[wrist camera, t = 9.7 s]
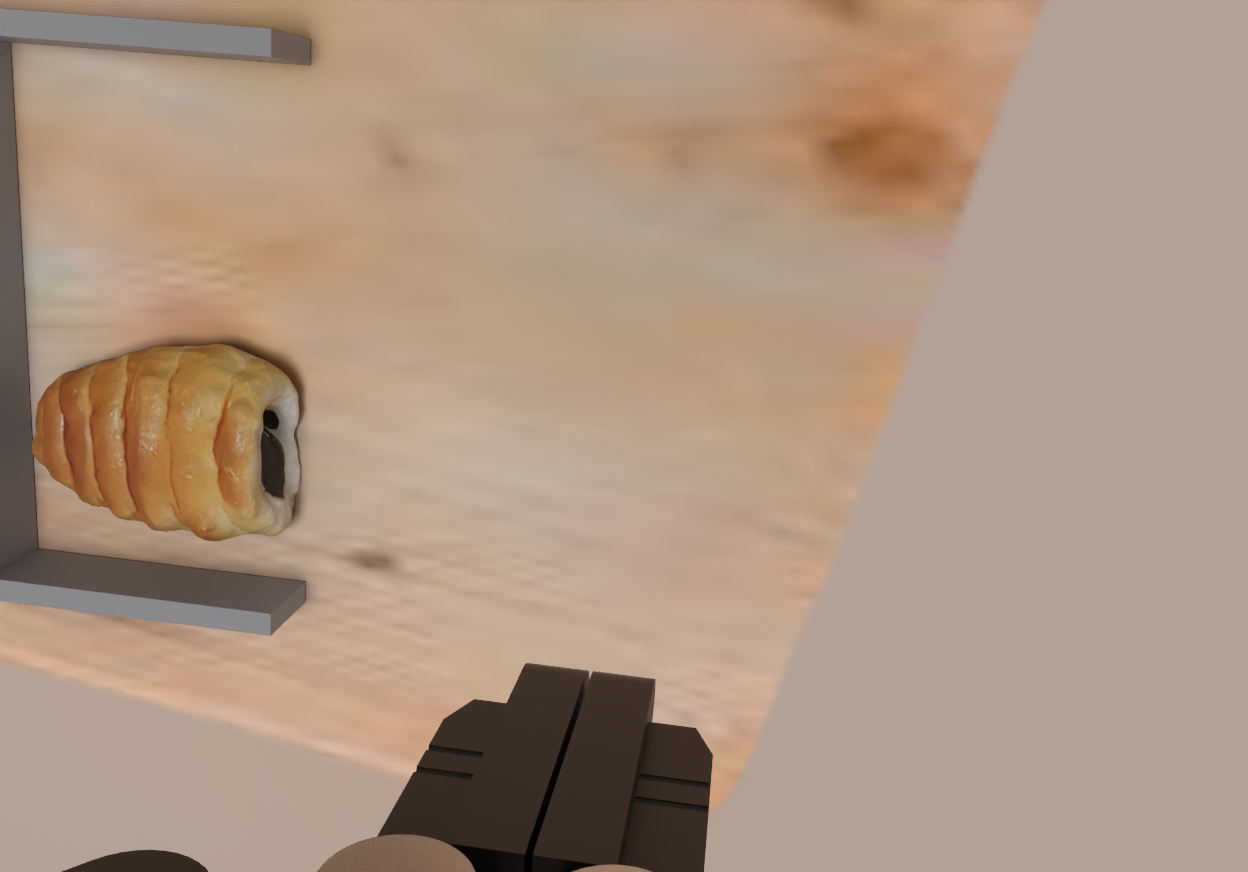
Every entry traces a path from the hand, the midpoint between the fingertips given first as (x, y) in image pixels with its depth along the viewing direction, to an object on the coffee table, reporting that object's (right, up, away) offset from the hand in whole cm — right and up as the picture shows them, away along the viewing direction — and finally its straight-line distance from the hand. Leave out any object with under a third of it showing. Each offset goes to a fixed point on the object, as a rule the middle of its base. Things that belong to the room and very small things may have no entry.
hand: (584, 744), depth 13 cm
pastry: (-15, +4, +27) cm, 31 cm away
